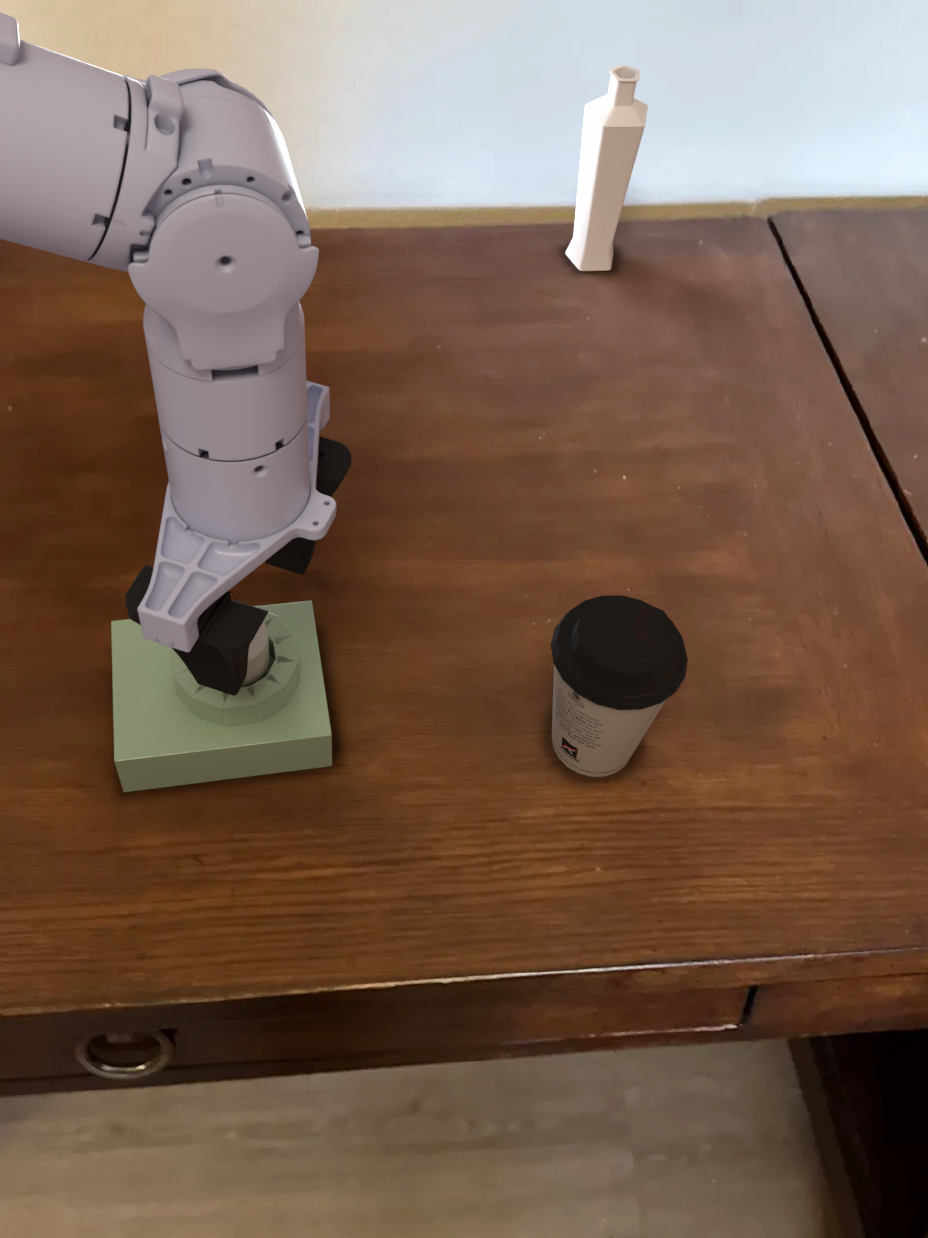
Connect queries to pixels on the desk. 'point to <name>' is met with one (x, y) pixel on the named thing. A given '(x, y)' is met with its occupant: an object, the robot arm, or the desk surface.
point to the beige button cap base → (218, 710)
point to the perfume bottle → (606, 169)
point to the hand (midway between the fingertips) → (254, 622)
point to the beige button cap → (258, 656)
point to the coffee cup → (611, 680)
